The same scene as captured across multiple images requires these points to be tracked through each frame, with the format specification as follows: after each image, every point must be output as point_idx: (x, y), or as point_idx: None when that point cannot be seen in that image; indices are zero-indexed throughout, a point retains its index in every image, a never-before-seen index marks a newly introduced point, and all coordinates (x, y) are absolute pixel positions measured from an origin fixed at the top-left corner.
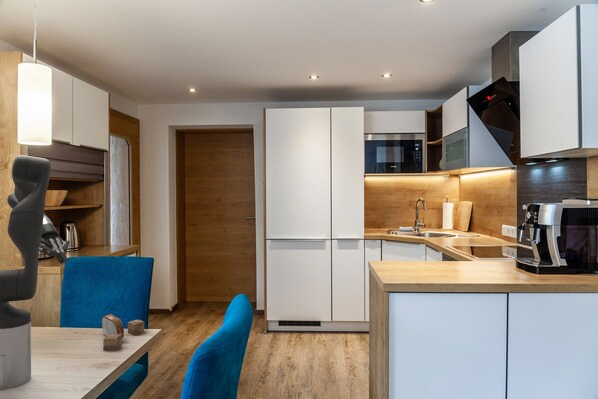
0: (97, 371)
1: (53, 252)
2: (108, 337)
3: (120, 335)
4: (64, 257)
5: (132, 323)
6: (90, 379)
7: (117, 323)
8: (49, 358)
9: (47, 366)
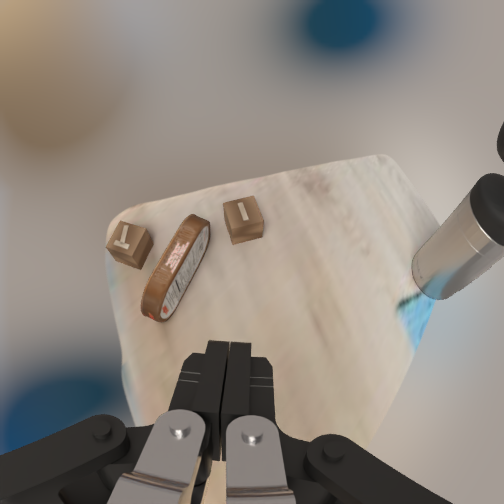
0: (339, 179)
1: (331, 438)
2: (253, 215)
3: (230, 201)
4: (221, 360)
5: (139, 237)
6: (362, 171)
7: (200, 220)
8: (347, 312)
9: (373, 276)
